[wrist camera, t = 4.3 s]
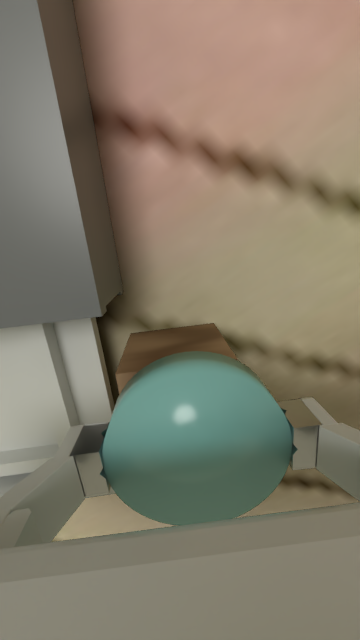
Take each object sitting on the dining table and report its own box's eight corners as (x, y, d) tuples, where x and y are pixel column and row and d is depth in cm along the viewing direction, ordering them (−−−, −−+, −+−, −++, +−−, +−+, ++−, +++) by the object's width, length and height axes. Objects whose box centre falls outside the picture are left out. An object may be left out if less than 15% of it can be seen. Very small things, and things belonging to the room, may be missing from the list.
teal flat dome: (273, 341, 9) (294, 360, 8) (272, 476, 11) (290, 514, 9) (97, 362, 9) (83, 386, 7) (127, 495, 11) (120, 536, 9)
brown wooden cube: (213, 322, 15) (237, 358, 10) (219, 395, 16) (241, 455, 12) (130, 333, 15) (115, 374, 10) (143, 405, 16) (135, 470, 12)
